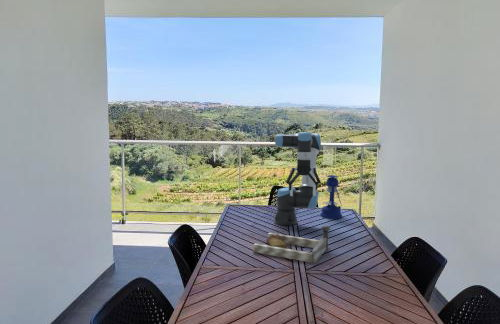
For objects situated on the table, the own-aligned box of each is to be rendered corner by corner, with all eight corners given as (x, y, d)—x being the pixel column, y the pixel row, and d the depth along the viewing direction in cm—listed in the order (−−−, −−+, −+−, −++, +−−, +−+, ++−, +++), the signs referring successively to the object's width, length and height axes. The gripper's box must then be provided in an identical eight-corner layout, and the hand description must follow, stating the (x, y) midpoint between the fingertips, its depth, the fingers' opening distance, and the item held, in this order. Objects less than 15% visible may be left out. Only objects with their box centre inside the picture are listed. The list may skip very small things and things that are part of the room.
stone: (287, 252, 191) (287, 242, 190) (270, 253, 189) (270, 243, 188) (279, 242, 205) (279, 233, 205) (263, 243, 203) (263, 234, 203)
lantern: (319, 212, 271) (321, 172, 267) (340, 213, 269) (342, 173, 265) (320, 218, 254) (322, 176, 250) (343, 219, 252) (345, 177, 248)
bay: (253, 251, 190) (253, 230, 188) (271, 237, 213) (271, 218, 211) (318, 263, 175) (318, 240, 174) (329, 246, 199) (330, 226, 197)
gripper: (284, 159, 203) (283, 197, 206) (327, 159, 207) (325, 196, 209) (281, 158, 211) (280, 194, 213) (322, 158, 214) (321, 193, 217)
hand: (302, 195), depth 211 cm, fingers open, 13 cm apart
